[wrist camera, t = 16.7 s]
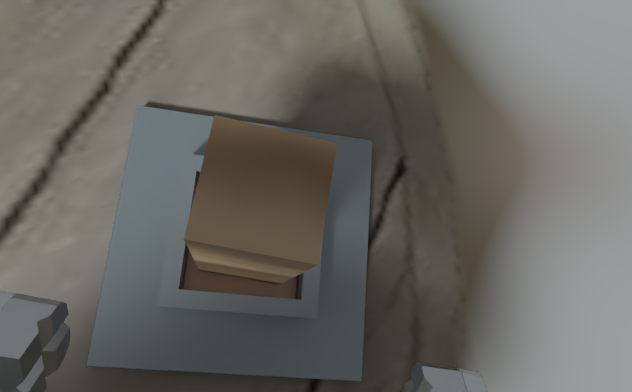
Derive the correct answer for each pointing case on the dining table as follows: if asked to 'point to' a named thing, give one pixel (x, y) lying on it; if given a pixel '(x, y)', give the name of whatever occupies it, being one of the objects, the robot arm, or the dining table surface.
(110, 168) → the dining table surface
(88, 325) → the dining table surface
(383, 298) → the dining table surface
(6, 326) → the robot arm
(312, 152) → the block
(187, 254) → the housing
